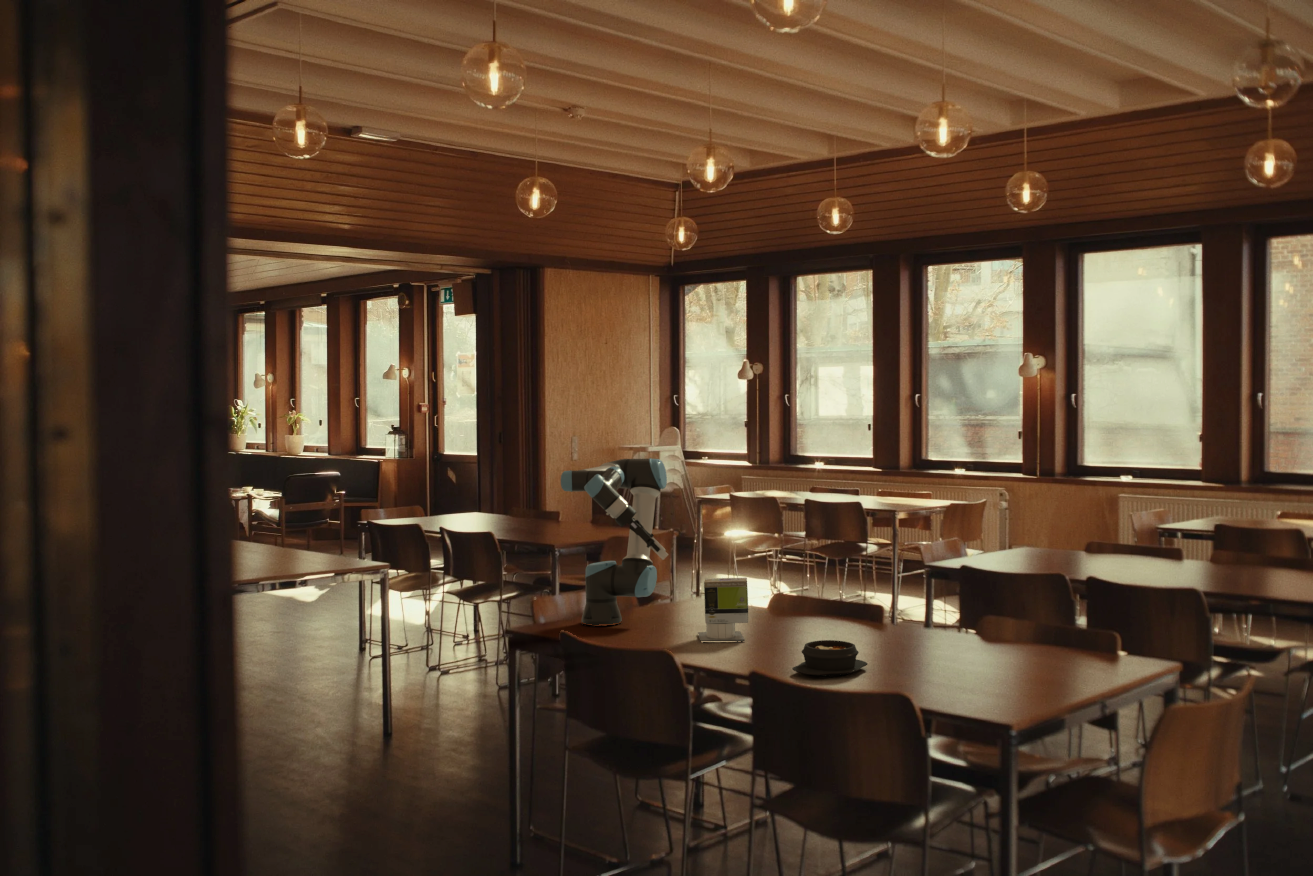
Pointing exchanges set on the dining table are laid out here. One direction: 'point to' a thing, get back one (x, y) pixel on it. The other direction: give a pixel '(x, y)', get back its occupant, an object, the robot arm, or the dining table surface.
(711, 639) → the bowl
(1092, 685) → the dining table surface
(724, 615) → the tea box
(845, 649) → the casserole
